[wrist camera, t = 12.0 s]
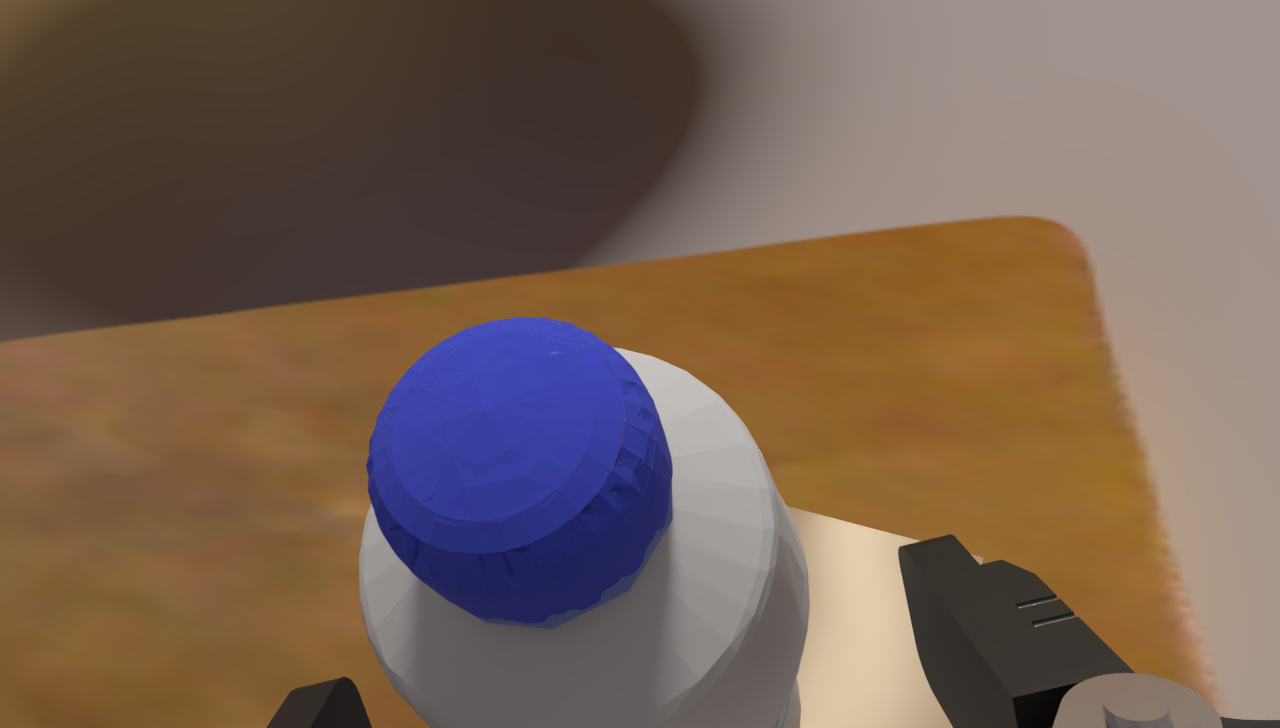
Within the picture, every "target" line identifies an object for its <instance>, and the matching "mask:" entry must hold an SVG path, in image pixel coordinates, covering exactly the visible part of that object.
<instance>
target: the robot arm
mask: <svg viewBox="0 0 1280 728" xmlns="http://www.w3.org/2000/svg"><path fill="white" fill-rule="evenodd" d="M898 558H899V564H900V570H901V574H902V579H903V584H904V589H905V594H906V599H907V604H908V609H909V614H910V619H911V624H912V629H913V633H914V638H915V643H916V648H917V652H918V655H919V659H920V662H921V665H922V668H923V671H924V674H925V676H926V679H927V681H928V684H929V686H930V688H931V690H932V692H933V694H934V696H935V697H936V699H937V701H938V702H939V704H940V706H941V708H942V709H943V711H944V713H945V715H946V716H947V718H948V720H949V721H950V723H951V725H952V727H953V728H1280V720H1239V719H1232V718H1224V717H1220V716H1219V714H1218V713H1217V711H1216V710H1215V708H1214V707H1213V706H1212V705H1211V704H1210V703H1209V702H1208V701H1207V700H1206V699H1205V698H1204V697H1202V696H1201V695H1200V694H1198V693H1197V692H1195V691H1193V690H1192V689H1190V688H1188V687H1186V686H1184V685H1181V684H1179V683H1176V682H1174V681H1171V680H1168V679H1164V678H1161V677H1157V676H1151V675H1146V674H1136V673H1135V672H1134V671H1133V670H1132V669H1131V668H1130V667H1129V666H1128V665H1127V664H1126V663H1125V662H1124V661H1123V660H1122V659H1121V658H1120V657H1118V656H1117V655H1116V654H1115V653H1114V652H1113V651H1112V650H1111V649H1110V648H1109V647H1108V646H1107V645H1106V644H1105V643H1104V642H1103V641H1102V640H1101V639H1100V638H1099V637H1098V636H1097V635H1096V634H1095V633H1094V632H1093V631H1092V630H1091V629H1090V628H1089V627H1088V626H1087V625H1086V624H1085V623H1084V622H1083V621H1082V620H1081V619H1080V618H1079V617H1075V615H1074V612H1073V611H1072V610H1071V609H1070V608H1069V607H1068V606H1067V605H1066V604H1065V603H1064V602H1063V601H1062V600H1061V599H1057V597H1056V594H1055V593H1054V592H1053V591H1052V590H1051V589H1050V588H1049V587H1048V586H1047V585H1046V584H1045V583H1044V582H1043V581H1042V580H1041V579H1040V578H1039V577H1038V576H1037V575H1036V574H1034V573H1032V572H1029V571H1027V570H1025V569H1022V568H1020V567H1018V566H1015V565H1013V564H1011V563H1008V562H1006V561H1004V560H999V561H994V562H990V563H986V564H982V565H980V564H979V563H978V562H977V561H976V560H975V559H974V557H973V556H972V555H971V554H970V553H969V552H968V551H967V550H966V549H965V547H964V546H963V545H962V544H961V543H960V542H959V541H958V540H957V538H956V537H955V536H953V535H952V534H951V535H946V536H941V537H937V538H933V539H929V540H925V541H920V542H916V543H912V544H908V545H904V546H900V547H899V549H898ZM267 728H372V726H371V724H370V721H369V718H368V716H367V713H366V710H365V708H364V705H363V702H362V699H361V697H360V694H359V692H358V689H357V687H356V686H355V684H354V683H353V681H352V680H350V679H349V678H347V677H342V678H338V679H334V680H330V681H325V682H321V683H317V684H313V685H309V686H304V687H300V688H296V689H294V690H292V691H291V692H290V693H289V695H288V696H287V698H286V699H285V701H284V702H283V704H282V705H281V707H280V708H279V710H278V711H277V713H276V714H275V716H274V717H273V719H272V720H271V722H270V723H269V725H268V726H267Z"/></svg>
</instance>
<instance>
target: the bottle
mask: <svg viewBox="0 0 1280 728" xmlns="http://www.w3.org/2000/svg"><path fill="white" fill-rule="evenodd" d="M366 467H367V471H368V475H369V481H368V492H369V496H370V499H371V506H370V509H369V512H368V515H367V518H366V520H365V526H364V532H363V538H362V544H361V550H360V557H359V575H360V600H361V607H362V613H363V619H364V623H365V627H366V630H367V634H368V638H369V641H370V643H371V645H372V647H373V649H374V651H375V654H376V656H377V658H378V660H379V662H380V664H381V666H382V668H383V670H384V672H385V673H386V675H387V677H388V679H389V680H390V682H391V684H392V685H393V687H394V689H395V690H396V691H397V692H398V693H399V694H400V695H401V697H402V698H403V699H404V700H405V701H406V702H407V703H408V704H409V705H410V706H411V707H412V708H413V709H414V710H415V711H416V712H417V713H418V714H419V715H420V717H421V718H422V719H423V720H424V721H425V722H426V723H427V724H429V725H430V726H431V727H432V728H800V719H801V703H800V695H799V687H798V681H797V678H796V677H797V674H798V672H799V667H800V662H801V657H802V654H803V650H804V645H805V640H806V635H807V631H808V620H809V608H810V598H809V581H808V568H807V563H806V558H805V553H804V549H803V546H802V543H801V540H800V537H799V534H798V531H797V528H796V525H795V523H794V521H793V519H792V516H791V514H790V512H789V510H788V508H787V506H786V505H785V503H784V501H783V499H782V498H781V496H780V494H779V493H778V490H777V488H776V486H775V483H774V481H773V479H772V476H771V474H770V472H769V469H768V467H767V465H766V462H765V460H764V458H763V455H762V453H761V452H760V450H759V448H758V446H757V445H756V443H755V441H754V440H753V438H752V436H751V434H750V433H749V431H748V429H747V428H746V426H745V424H744V423H743V422H742V421H741V419H740V418H739V417H738V416H737V415H736V413H735V412H734V411H733V410H732V409H731V408H730V407H729V406H728V405H727V403H726V402H725V401H724V400H723V399H722V398H721V397H720V396H719V395H718V394H717V393H715V392H714V391H713V390H711V389H710V388H708V387H707V386H706V385H704V384H703V383H702V382H700V381H699V380H698V379H696V378H695V377H693V376H692V375H691V374H689V373H688V372H686V371H684V370H682V369H680V368H678V367H675V366H673V365H671V364H669V363H666V362H664V361H662V360H660V359H657V358H655V357H652V356H648V355H644V354H640V353H636V352H632V351H628V350H624V349H620V348H613V347H611V346H610V345H608V344H606V343H605V342H603V341H602V340H600V339H599V338H598V337H596V336H595V335H594V334H592V333H591V332H589V331H585V330H582V329H580V328H579V327H577V326H575V325H573V324H571V323H566V322H561V321H557V320H552V319H547V318H523V317H518V318H512V319H505V320H498V321H491V322H487V323H484V324H481V325H478V326H474V327H471V328H467V329H465V330H463V331H461V332H459V333H457V334H455V335H453V336H451V337H449V338H447V339H445V340H444V341H442V342H441V343H440V344H438V345H437V346H435V347H434V348H432V349H431V350H429V351H428V352H426V353H425V354H424V355H423V356H422V357H421V358H420V359H419V360H418V361H417V362H416V363H415V364H414V365H412V366H411V367H410V368H409V369H408V370H407V372H406V373H405V374H404V376H403V377H402V378H401V379H400V381H399V382H398V383H397V385H396V386H395V387H394V388H393V390H392V391H391V393H390V395H389V398H388V400H387V401H386V403H385V405H384V407H383V409H382V410H381V412H380V414H379V415H378V418H377V422H376V427H375V430H374V432H373V434H372V436H371V439H370V444H369V456H368V460H367V464H366Z"/></svg>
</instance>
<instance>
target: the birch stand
mask: <svg viewBox="0 0 1280 728" xmlns="http://www.w3.org/2000/svg"><path fill="white" fill-rule="evenodd" d="M787 508H788V510H789V512H790V514H791V516H792V519H793V521H794V523H795V525H796V528H797V531H798V534H799V537H800V540H801V543H802V546H803V549H804V553H805V558H806V563H807V568H808V581H809V598H810V608H809V620H808V631H807V635H806V640H805V645H804V650H803V654H802V657H801V662H800V667H799V672H798V674H797V677H796V678H797V681H798V687H799V695H800V703H801V719H800V728H953V727H952V725H951V723H950V721H949V720H948V718H947V716H946V715H945V713H944V711H943V709H942V708H941V706H940V704H939V702H938V701H937V699H936V697H935V696H934V694H933V692H932V690H931V688H930V686H929V684H928V681H927V679H926V676H925V674H924V671H923V668H922V665H921V662H920V659H919V655H918V652H917V648H916V643H915V638H914V633H913V629H912V624H911V619H910V614H909V609H908V604H907V599H906V594H905V589H904V584H903V579H902V574H901V570H900V564H899V558H898V549H899V547H900V546H904V545H908V544H912V543H916V542H920V541H918V540H914V539H910V538H906V537H903V536H899V535H895V534H891V533H887V532H884V531H880V530H876V529H872V528H868V527H865V526H861V525H857V524H853V523H849V522H845V521H842V520H838V519H834V518H830V517H826V516H823V515H819V514H815V513H811V512H807V511H803V510H800V509H796V508H792V507H788V506H787ZM972 556H973V557H974V559H975V560H976V561H977V562H978V563H979V564H980V565H982V562H983V557H979V556H975V555H972Z"/></svg>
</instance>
